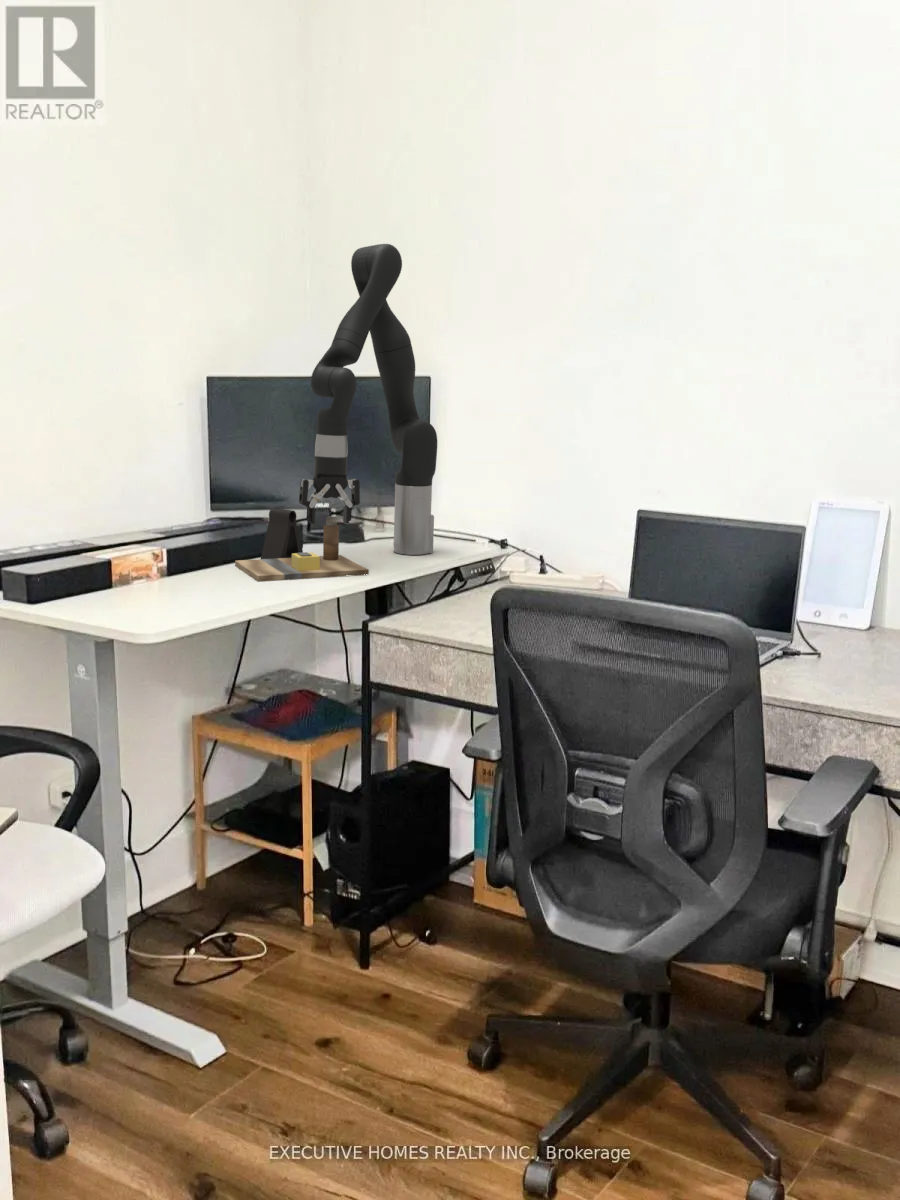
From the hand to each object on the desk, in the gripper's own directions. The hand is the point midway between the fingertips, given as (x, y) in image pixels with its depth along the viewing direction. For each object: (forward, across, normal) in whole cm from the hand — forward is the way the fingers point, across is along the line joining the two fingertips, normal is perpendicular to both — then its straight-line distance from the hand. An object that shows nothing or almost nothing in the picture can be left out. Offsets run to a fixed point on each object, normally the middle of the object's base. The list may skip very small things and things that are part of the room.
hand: (328, 523), depth 274 cm
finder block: (+9, +8, +9) cm, 15 cm away
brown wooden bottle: (+8, -1, 0) cm, 9 cm away
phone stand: (+10, +8, -8) cm, 16 cm away
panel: (+10, +8, +6) cm, 14 cm away
